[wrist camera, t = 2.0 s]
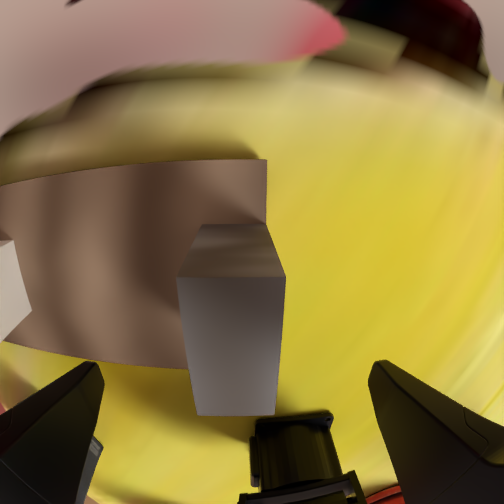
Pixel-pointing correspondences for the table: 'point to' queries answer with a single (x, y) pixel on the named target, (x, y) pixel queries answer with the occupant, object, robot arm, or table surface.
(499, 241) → the table surface
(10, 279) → the off-white block
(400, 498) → the plant pot
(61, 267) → the walnut strip
